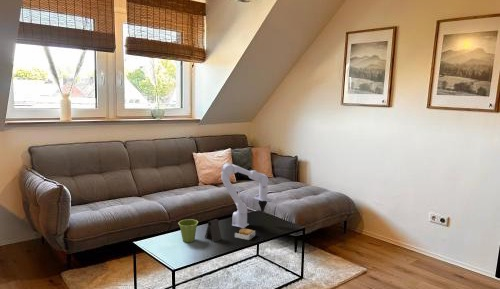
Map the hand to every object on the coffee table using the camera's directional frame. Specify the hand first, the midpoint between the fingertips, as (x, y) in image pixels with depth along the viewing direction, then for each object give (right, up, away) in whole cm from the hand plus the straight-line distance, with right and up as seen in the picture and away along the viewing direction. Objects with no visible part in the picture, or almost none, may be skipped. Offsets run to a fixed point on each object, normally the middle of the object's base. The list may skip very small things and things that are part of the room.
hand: (262, 211), depth 249 cm
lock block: (-11, -12, -19) cm, 26 cm away
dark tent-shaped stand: (-31, -12, -25) cm, 42 cm away
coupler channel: (-12, -12, -20) cm, 26 cm away
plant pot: (-46, -13, -28) cm, 55 cm away
